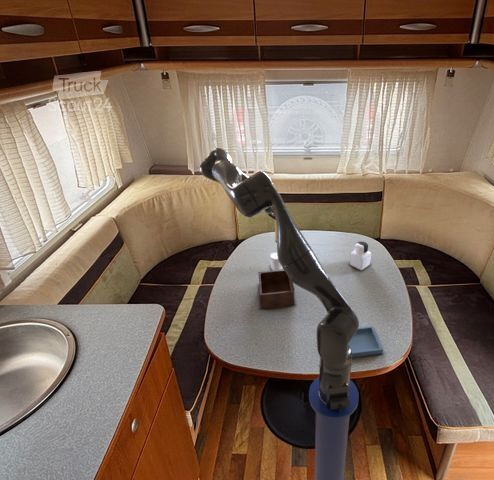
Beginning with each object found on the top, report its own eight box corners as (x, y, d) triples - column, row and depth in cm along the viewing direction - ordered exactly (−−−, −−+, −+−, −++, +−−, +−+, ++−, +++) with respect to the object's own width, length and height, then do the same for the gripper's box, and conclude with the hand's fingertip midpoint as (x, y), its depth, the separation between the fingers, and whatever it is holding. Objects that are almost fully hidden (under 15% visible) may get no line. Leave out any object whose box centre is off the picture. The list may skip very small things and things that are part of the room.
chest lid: (285, 262, 137) (287, 262, 137) (281, 241, 150) (283, 240, 150) (292, 291, 145) (294, 290, 145) (288, 268, 158) (290, 267, 158)
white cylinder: (281, 262, 176) (280, 250, 172) (286, 269, 170) (285, 257, 167) (267, 265, 173) (267, 253, 169) (273, 273, 168) (272, 261, 164)
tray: (382, 353, 127) (382, 349, 126) (339, 359, 125) (339, 355, 124) (372, 329, 137) (372, 325, 136) (332, 334, 135) (332, 330, 134)
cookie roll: (288, 244, 135) (288, 214, 129) (274, 244, 135) (273, 214, 129) (288, 237, 140) (288, 208, 133) (275, 237, 140) (274, 208, 133)
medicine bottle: (358, 258, 177) (360, 238, 171) (370, 264, 173) (372, 243, 167) (349, 264, 173) (351, 243, 167) (361, 270, 169) (363, 249, 162)
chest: (261, 308, 147) (259, 295, 143) (259, 285, 160) (258, 271, 157) (294, 305, 149) (293, 291, 145) (290, 282, 162) (289, 268, 158)
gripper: (242, 193, 131) (275, 219, 140) (249, 210, 119) (284, 236, 128) (256, 178, 130) (288, 205, 139) (264, 193, 118) (298, 221, 127)
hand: (286, 220), depth 134 cm, fingers closed on cookie roll, 5 cm apart
